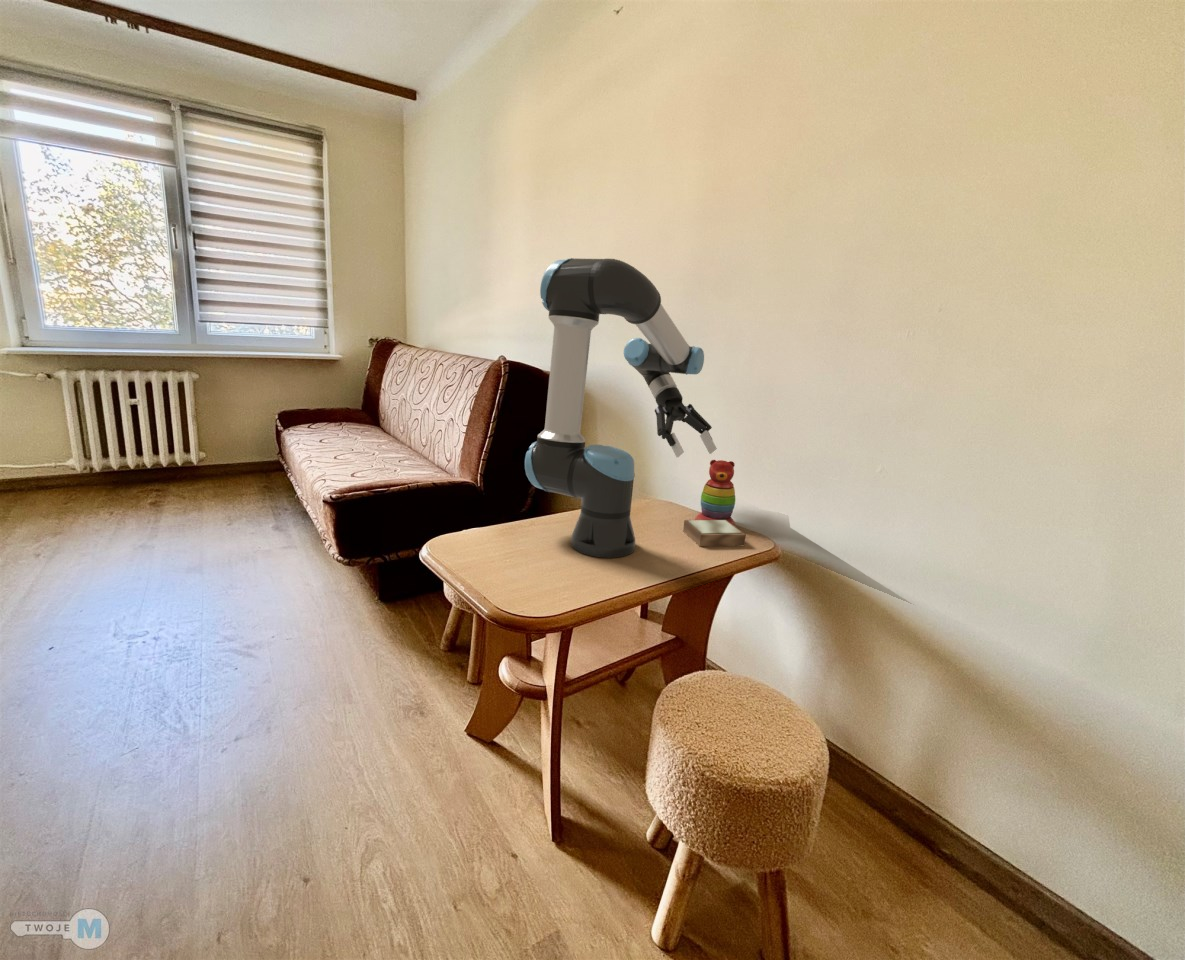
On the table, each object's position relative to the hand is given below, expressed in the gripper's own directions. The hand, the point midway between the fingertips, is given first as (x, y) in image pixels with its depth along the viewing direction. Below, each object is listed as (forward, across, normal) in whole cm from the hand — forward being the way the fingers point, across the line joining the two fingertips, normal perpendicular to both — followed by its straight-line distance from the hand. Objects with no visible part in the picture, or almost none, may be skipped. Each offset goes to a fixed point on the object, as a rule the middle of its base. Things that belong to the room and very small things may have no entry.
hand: (697, 453), depth 156 cm
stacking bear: (+20, 0, -6) cm, 21 cm away
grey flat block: (+26, +11, 0) cm, 28 cm away
